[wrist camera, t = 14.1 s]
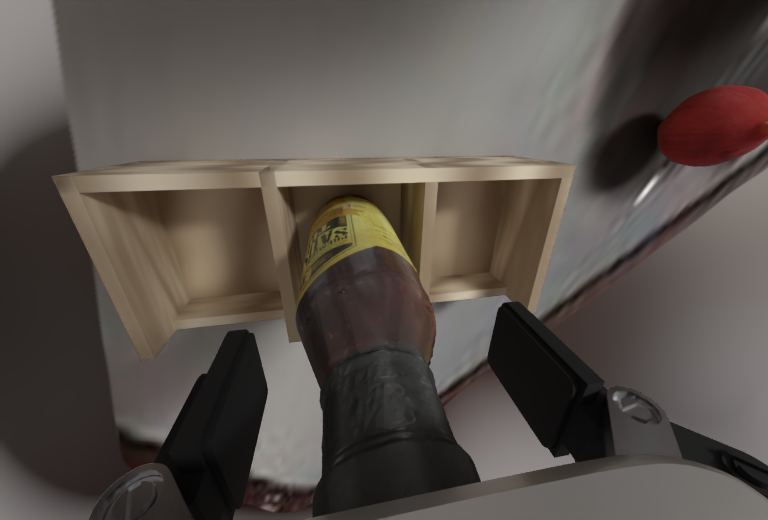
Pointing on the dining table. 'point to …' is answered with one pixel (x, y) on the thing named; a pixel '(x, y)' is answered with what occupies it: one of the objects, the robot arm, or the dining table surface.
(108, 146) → the dining table surface
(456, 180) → the wooden compartment shelf
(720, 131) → the onion
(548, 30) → the dining table surface
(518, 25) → the dining table surface
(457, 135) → the dining table surface
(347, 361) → the sauce bottle
